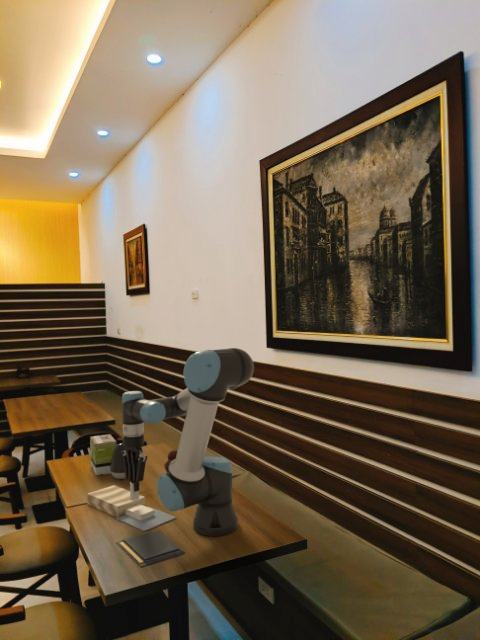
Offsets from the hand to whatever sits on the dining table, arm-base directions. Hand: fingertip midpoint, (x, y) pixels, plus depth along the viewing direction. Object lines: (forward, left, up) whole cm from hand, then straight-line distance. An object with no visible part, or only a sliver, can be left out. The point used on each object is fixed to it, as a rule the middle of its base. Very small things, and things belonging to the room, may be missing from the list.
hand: (134, 499), depth 183 cm
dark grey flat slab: (-25, +13, -6) cm, 29 cm away
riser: (+12, 0, -5) cm, 13 cm away
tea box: (+54, -22, -6) cm, 58 cm away
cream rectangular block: (-3, 0, -5) cm, 6 cm away
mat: (-7, 0, -5) cm, 9 cm away
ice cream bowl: (+10, -29, -6) cm, 31 cm away
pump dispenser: (+38, -21, -6) cm, 44 cm away
